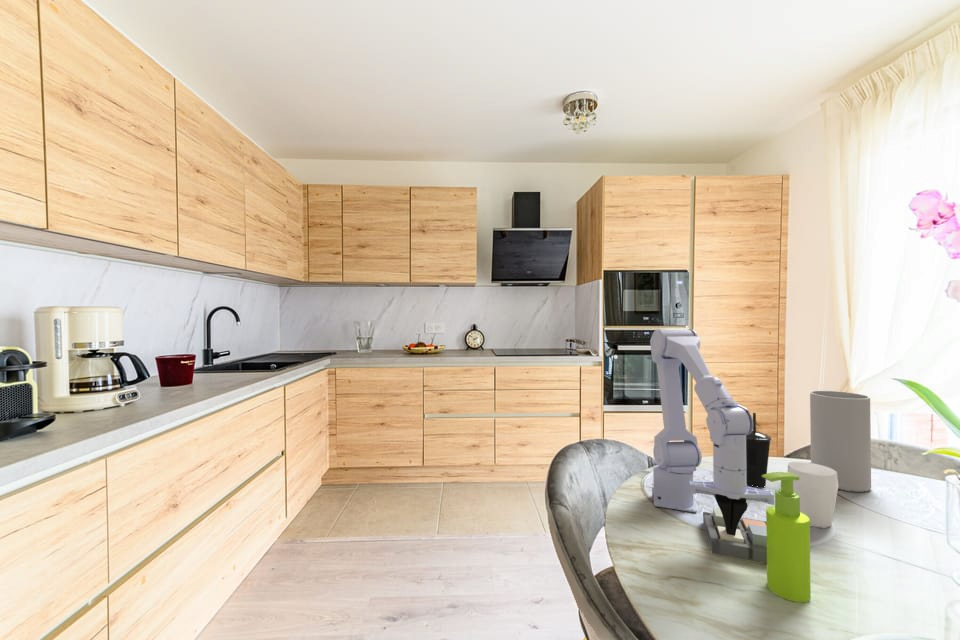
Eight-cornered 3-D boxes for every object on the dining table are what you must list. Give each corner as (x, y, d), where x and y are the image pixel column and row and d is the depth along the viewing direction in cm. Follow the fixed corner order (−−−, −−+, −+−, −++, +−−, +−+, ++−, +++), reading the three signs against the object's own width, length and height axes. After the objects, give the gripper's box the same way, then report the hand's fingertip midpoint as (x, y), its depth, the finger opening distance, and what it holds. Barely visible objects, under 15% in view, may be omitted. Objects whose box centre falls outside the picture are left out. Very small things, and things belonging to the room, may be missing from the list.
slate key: (753, 546, 78) (753, 533, 78) (748, 536, 81) (748, 524, 81) (777, 550, 76) (777, 537, 76) (771, 540, 80) (771, 527, 80)
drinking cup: (778, 489, 108) (778, 416, 108) (750, 490, 108) (749, 416, 108) (759, 478, 115) (758, 409, 115) (732, 478, 116) (732, 410, 116)
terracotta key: (746, 539, 83) (746, 527, 83) (742, 529, 86) (742, 518, 86) (769, 543, 81) (769, 531, 81) (764, 533, 85) (764, 521, 85)
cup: (849, 532, 86) (848, 477, 86) (801, 528, 88) (800, 474, 88) (822, 512, 95) (821, 462, 95) (779, 509, 97) (779, 460, 97)
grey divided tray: (712, 553, 79) (712, 541, 79) (703, 522, 91) (703, 511, 91) (792, 568, 74) (792, 555, 74) (771, 533, 86) (771, 522, 86)
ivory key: (720, 547, 80) (720, 535, 80) (717, 537, 84) (717, 525, 84) (744, 552, 78) (744, 539, 78) (739, 541, 82) (739, 529, 82)
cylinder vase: (800, 474, 119) (799, 390, 119) (847, 475, 117) (846, 391, 117) (831, 492, 106) (830, 398, 106) (884, 494, 104) (883, 399, 104)
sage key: (716, 527, 85) (716, 515, 85) (713, 518, 89) (713, 507, 89) (738, 531, 83) (737, 519, 83) (734, 522, 87) (734, 510, 87)
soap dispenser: (753, 580, 71) (752, 468, 71) (789, 578, 71) (788, 466, 71) (781, 604, 65) (779, 481, 65) (820, 601, 65) (818, 479, 65)
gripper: (691, 468, 80) (692, 535, 80) (778, 478, 74) (779, 550, 74) (688, 456, 87) (688, 519, 86) (768, 465, 81) (768, 532, 81)
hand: (730, 532), depth 81 cm, fingers closed, pressing on ivory key
